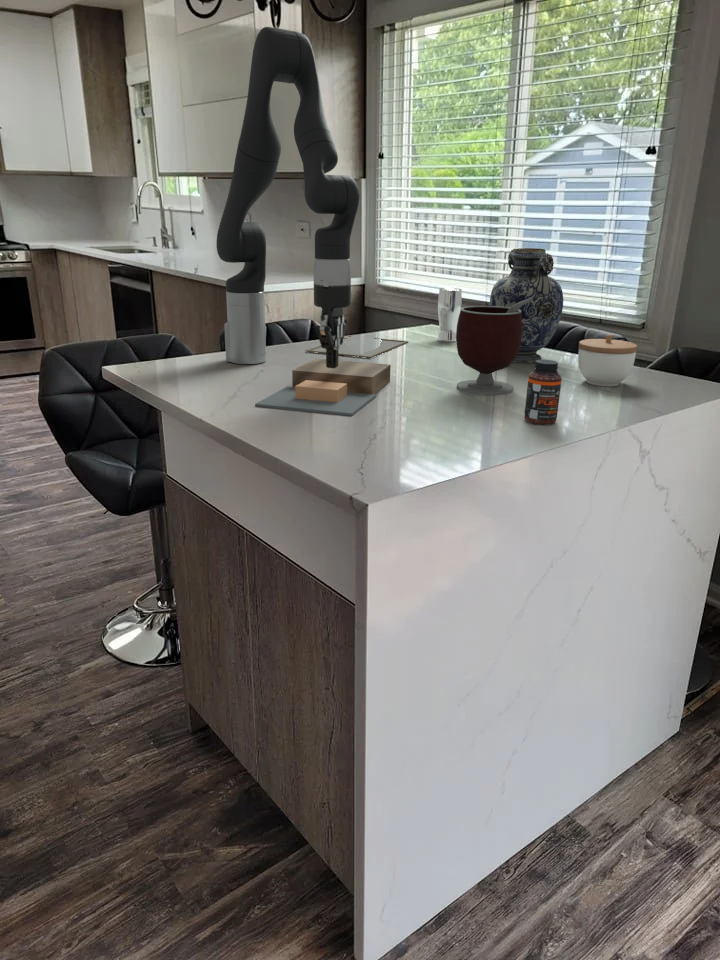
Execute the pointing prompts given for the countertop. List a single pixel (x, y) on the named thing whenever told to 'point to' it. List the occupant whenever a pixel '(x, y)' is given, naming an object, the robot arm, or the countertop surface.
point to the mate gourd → (488, 344)
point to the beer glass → (448, 313)
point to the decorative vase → (526, 284)
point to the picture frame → (384, 347)
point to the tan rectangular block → (321, 391)
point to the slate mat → (316, 402)
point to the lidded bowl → (606, 360)
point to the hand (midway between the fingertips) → (332, 367)
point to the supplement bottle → (543, 393)
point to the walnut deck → (345, 375)
